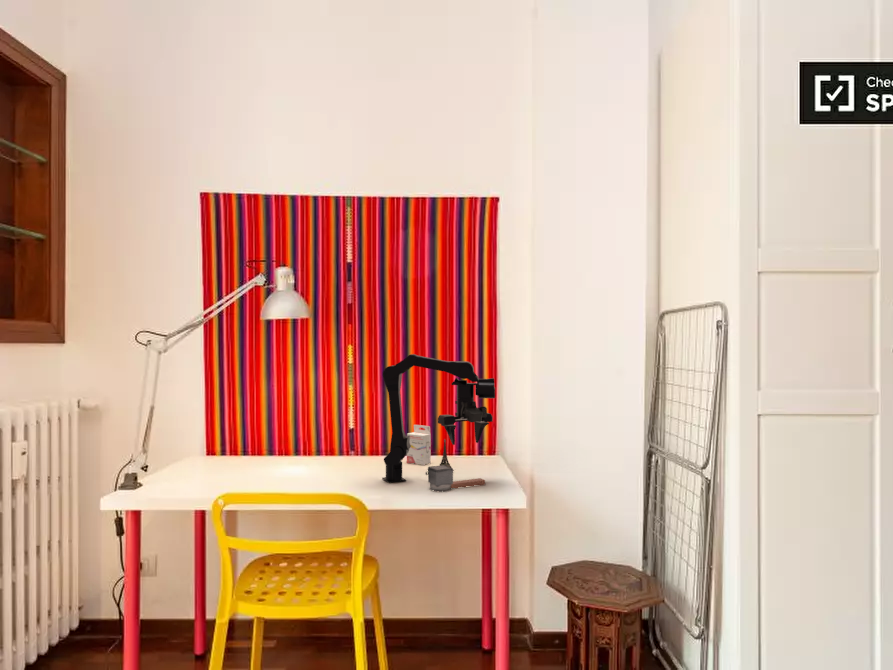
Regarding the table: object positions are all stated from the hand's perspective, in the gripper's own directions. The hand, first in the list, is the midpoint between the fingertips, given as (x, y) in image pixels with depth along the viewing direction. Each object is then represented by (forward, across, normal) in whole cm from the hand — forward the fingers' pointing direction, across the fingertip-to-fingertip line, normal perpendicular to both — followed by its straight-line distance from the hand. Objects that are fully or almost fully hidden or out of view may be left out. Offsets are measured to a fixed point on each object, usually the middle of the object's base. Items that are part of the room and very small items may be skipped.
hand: (465, 443), depth 215 cm
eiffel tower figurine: (+14, +2, +18) cm, 23 cm away
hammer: (+13, -6, -5) cm, 15 cm away
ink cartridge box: (+13, -1, +36) cm, 39 cm away
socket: (+11, -12, -5) cm, 17 cm away
